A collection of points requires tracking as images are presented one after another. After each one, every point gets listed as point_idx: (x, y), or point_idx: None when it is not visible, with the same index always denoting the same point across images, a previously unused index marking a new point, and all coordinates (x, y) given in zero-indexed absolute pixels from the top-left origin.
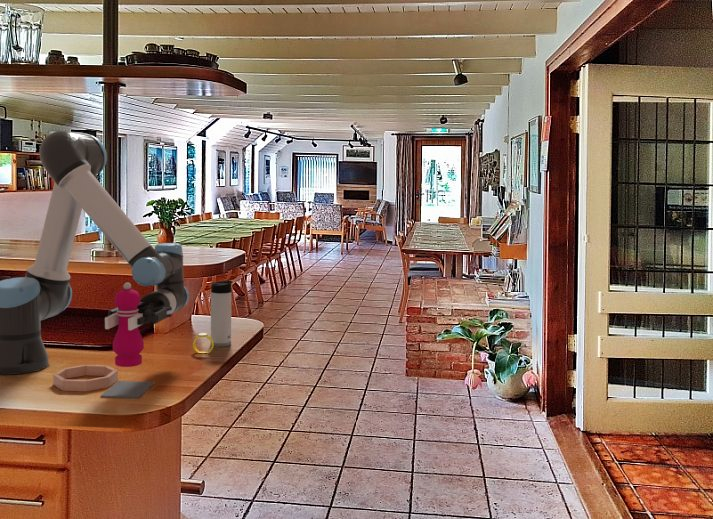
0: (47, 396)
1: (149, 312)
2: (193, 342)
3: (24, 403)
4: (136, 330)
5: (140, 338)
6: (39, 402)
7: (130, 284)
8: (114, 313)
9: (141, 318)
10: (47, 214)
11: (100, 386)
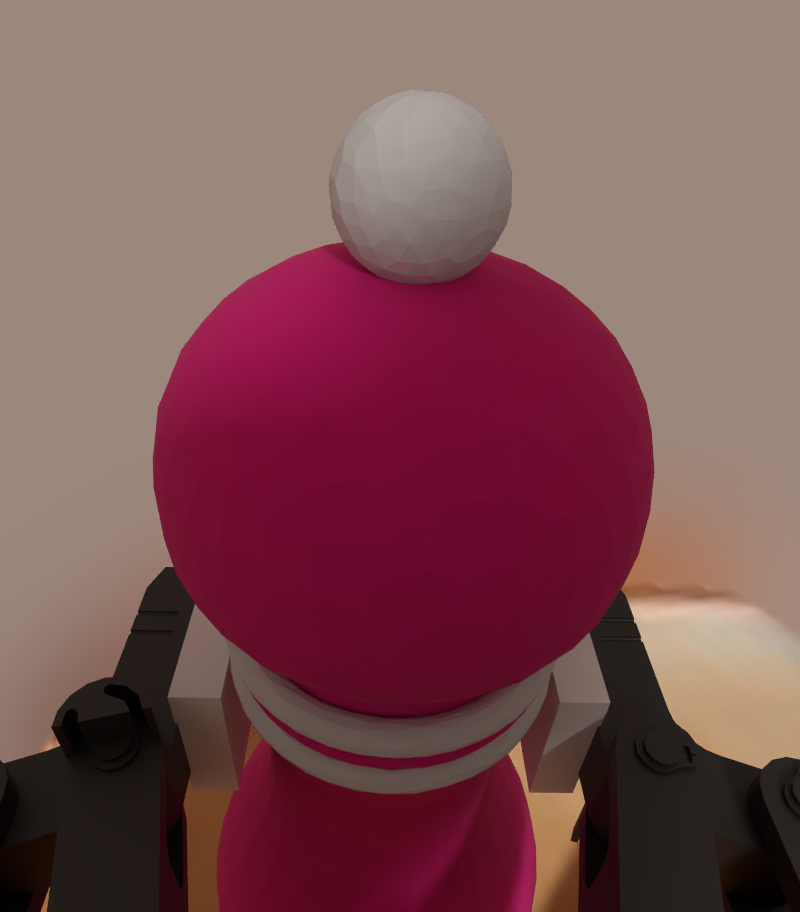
0: (744, 761)
1: (50, 888)
2: None
3: (741, 655)
4: (269, 746)
5: (233, 807)
6: (695, 676)
7: (344, 144)
8: (659, 725)
9: (166, 594)
10: None
11: None
